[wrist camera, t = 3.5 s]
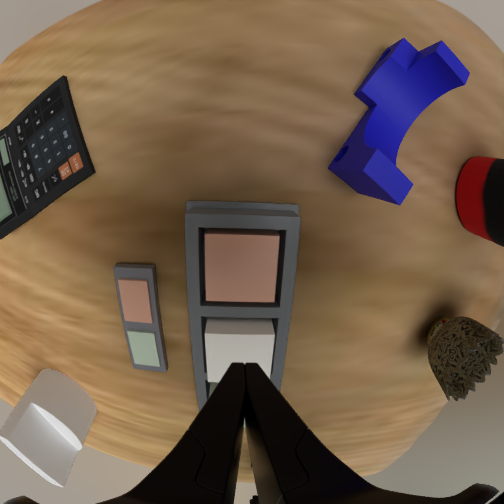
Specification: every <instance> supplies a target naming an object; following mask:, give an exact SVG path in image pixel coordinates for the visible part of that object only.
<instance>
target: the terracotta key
mask: <svg viewBox="0 0 504 504" xmlns="http://www.w3.org/2000/svg"><path fill="white" fill-rule="evenodd" d="M278 250H279V234H278V233H277V231H276V230H275V229H245V228H208V229H207V231H206V233H205V279H206V301H230V302H274V300H275V288H276V276H277V263H278Z"/></svg>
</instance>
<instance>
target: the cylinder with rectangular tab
mask: <svg viewBox="0 0 504 504" xmlns="http://www.w3.org/2000/svg"><path fill="white" fill-rule="evenodd" d="M96 414H97V407H96V405H95V402H94V401H93V399H92V398H91V396H90V395H89V394H88V393H87V392H86V391H85V390H84V388H83V387H81V386H80V385H79V384H78V383H77V382H76V381H74V380H73V379H71V378H70V377H68V376H67V375H65V374H63V373H61V372H59V371H56V370H53V369H43V370H41V371H40V373H39V374H38V375H37V377H36V378H35V379H34V381H33V382H32V384H31V385H30V386H29V388H28V389H27V391H26V392H25V393H24V395H23V396H22V398H21V399H20V401H19V402H18V404H17V405H16V407H15V408H14V410H13V411H12V413H11V414H10V416H9V417H8V419H7V420H6V422H5V424H4V425H3V427H2V428H1V430H0V439H1V440H2V442H3V443H5V444H6V445H7V446H8V447H9V448H10V449H11V450H12V451H13V452H14V453H15V454H16V455H17V456H18V457H19V458H21V459H22V460H23V461H24V462H25V463H26V464H27V465H29V466H30V467H31V468H32V469H33V470H35V471H36V472H37V473H38V474H40V475H41V476H42V477H43V478H45V479H46V480H47V481H49V482H50V483H53V484H55V485H57V486H60V487H65V484H66V481H67V479H68V476H69V473H70V471H71V468H72V466H73V463H74V461H75V458H76V456H77V453H78V451H79V450H81V448H82V446H83V443H84V441H85V439H86V436H87V434H88V432H89V429H90V427H91V425H92V423H93V420H94V418H95V416H96Z"/></svg>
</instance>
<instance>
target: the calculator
mask: <svg viewBox="0 0 504 504" xmlns="http://www.w3.org/2000/svg"><path fill="white" fill-rule="evenodd" d="M94 173H96V172H95V169H94V166H93V164H92V161H91V158H90V155H89V152H88V150H87V147H86V144H85V141H84V138H83V134H82V131H81V128H80V125H79V122H78V118H77V115H76V111H75V108H74V104H73V100H72V97H71V93H70V89H69V85H68V81H67V77H66V76H64V75H63V76H62V77H60V78H59V79H58V80H57V81H55V82H54V83H53V84H52V85H50V86H49V87H48V88H47V89H46V90H45V91H43V92H42V93H41V94H40V95H39V96H38V97H37V98H36V99H34V100H33V101H32V102H31V103H30V104H29V105H28V106H27V107H26V108H25V109H24V110H23V111H22V112H21V113H20V114H19V115H18V116H17V117H16V118H15V119H14V120H13V121H12V122H11V123H10V124H9V125H8V126H7V127H5V128H4V129H2V130H1V131H0V239H3V238H4V237H5V236H7V235H8V234H9V233H11V232H12V231H14V230H15V229H16V228H18V227H19V226H21V225H22V224H24V223H25V222H27V221H28V220H30V219H31V218H33V217H34V216H35V215H37V214H38V213H39V212H41V211H42V210H43V209H44V208H46V207H47V206H48V205H50V204H51V203H52V202H54V201H55V200H56V199H58V198H59V197H60V196H62V195H63V194H65V193H66V192H67V191H69V190H70V189H72V188H73V187H75V186H76V185H77V184H79V183H80V182H82V181H83V180H85V179H86V178H88V177H90V176H91V175H93V174H94Z"/></svg>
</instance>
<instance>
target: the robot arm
mask: <svg viewBox="0 0 504 504" xmlns="http://www.w3.org/2000/svg"><path fill="white" fill-rule="evenodd" d="M244 418H245V429H246V435H247V440H248V446H249V452H250V457H251V462H252V463H251V467H252V468H253V473H254V478H255V484H256V489H257V494H258V496H256V495H255V496H253V499H251V500H250V504H485V503H486V502H488V501H489V500H490V499H491V498H493V497H494V496H495V495H496V494H497V493H498V492H499V490H497V489H496V488H495V487H493V486H490V485H485V484H479V483H476V484H474V485H472V486H470V487H469V488H467V489H466V490H464V491H462V492H461V493H459V494H457V495H455V496H451V497H445V498H433V497H425V496H417V495H410V494H405V493H399V492H394V491H389V490H384V489H381V488H378V487H376V486H374V485H372V484H370V483H369V482H367V481H366V480H364V479H363V478H362V477H360V476H359V475H358V474H357V473H355V472H354V471H353V470H352V469H350V468H349V467H348V466H347V465H346V464H344V463H343V462H342V461H341V460H340V459H338V458H337V457H336V456H335V455H334V454H333V453H332V452H331V451H329V450H328V449H327V448H326V447H325V446H324V445H323V444H322V442H321V441H320V440H319V439H318V438H317V437H316V436H315V435H314V434H313V432H312V431H311V430H310V429H308V426H307V425H306V424H305V423H304V422H303V420H302V419H301V418H300V417H299V416H298V414H297V413H296V412H295V411H294V409H293V408H292V407H291V406H290V404H289V403H288V402H287V401H286V399H285V398H284V397H283V396H282V394H281V393H280V392H279V390H278V389H277V388H276V387H275V385H274V384H273V383H272V381H271V380H270V379H269V377H268V376H267V375H266V373H265V372H264V371H263V369H262V368H261V367H260V365H259V364H258V363H256V362H246V363H245V365H244V363H243V362H232V363H231V364H230V366H229V367H228V369H227V370H226V372H225V374H224V375H223V377H222V378H221V380H220V381H219V383H218V384H217V386H216V388H215V389H214V391H213V392H212V394H211V395H210V397H209V398H208V400H207V401H206V403H205V404H204V406H203V407H202V409H201V410H200V412H199V413H198V415H197V416H196V418H195V419H194V421H193V422H192V424H191V425H190V426H189V428H188V429H189V430H187V431H186V432H185V434H184V435H183V436H182V438H181V439H180V440H179V442H178V443H177V444H176V446H175V447H174V448H173V450H172V451H171V452H170V453H169V454H168V455H167V456H166V457H165V458H164V459H163V460H162V461H161V462H160V463H159V464H158V465H157V466H156V467H155V468H154V469H153V470H152V471H151V473H149V474H148V475H147V476H146V477H145V478H144V479H143V480H142V481H141V482H140V483H139V484H138V485H137V486H135V487H134V488H133V489H132V490H130V491H129V492H127V493H125V494H123V495H121V496H119V497H116V498H113V499H110V500H107V501H103V502H100V503H97V504H234V497H235V489H236V482H237V475H238V468H239V460H240V453H241V445H242V438H243V430H244ZM4 504H39V503H37V502H35V501H33V500H32V499H30V498H28V497H26V496H20V497H16V498H13V499H10V500H8V501H7V502H5V503H4ZM489 504H504V492H503V493H502V494H500V495H499V496H498V497H497V498H495V499H494V500H493V501H491V502H490V503H489Z"/></svg>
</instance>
